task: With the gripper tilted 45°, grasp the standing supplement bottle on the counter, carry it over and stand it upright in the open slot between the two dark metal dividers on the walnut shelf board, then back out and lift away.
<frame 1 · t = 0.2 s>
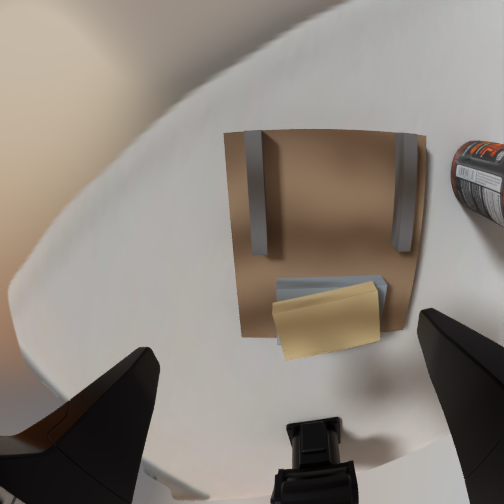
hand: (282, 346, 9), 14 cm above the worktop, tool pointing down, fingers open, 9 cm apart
supplement bottle: (472, 173, 19), on the worktop
shelf board: (327, 235, 22), on the worktop
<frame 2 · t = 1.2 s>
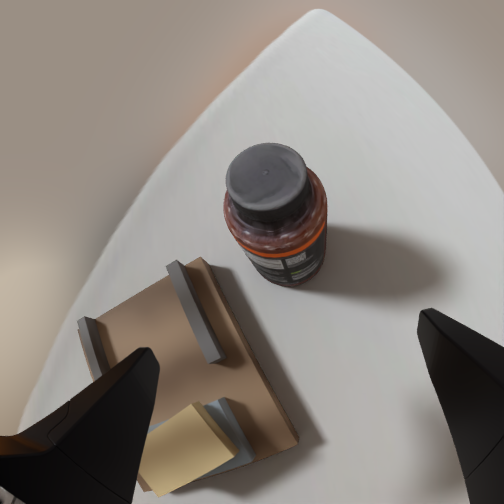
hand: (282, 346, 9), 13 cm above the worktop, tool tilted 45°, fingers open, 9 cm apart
supplement bottle: (289, 253, 24), on the worktop
shelf board: (176, 385, 22), on the worktop
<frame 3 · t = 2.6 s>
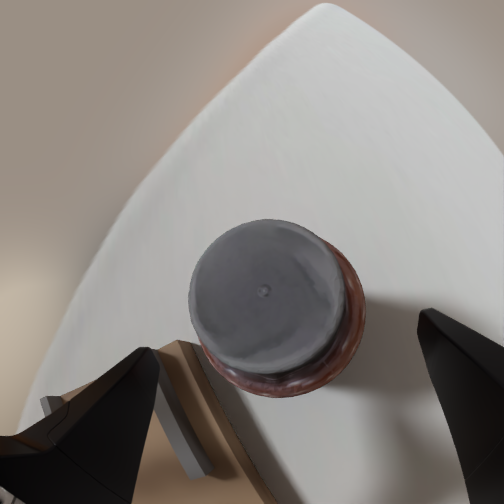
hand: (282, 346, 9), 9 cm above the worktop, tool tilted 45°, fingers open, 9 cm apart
supplement bottle: (295, 333, 18), on the worktop
shelf board: (158, 477, 15), on the worktop
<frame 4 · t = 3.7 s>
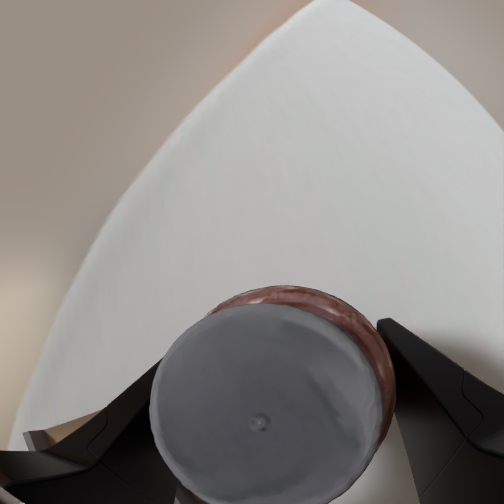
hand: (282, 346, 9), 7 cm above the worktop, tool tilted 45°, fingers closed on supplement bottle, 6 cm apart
supplement bottle: (299, 376, 15), on the worktop, touching gripper
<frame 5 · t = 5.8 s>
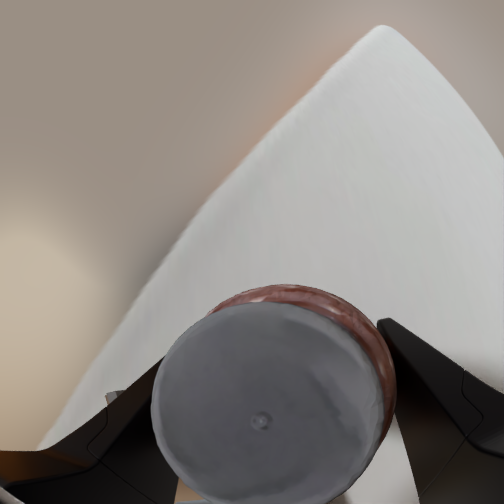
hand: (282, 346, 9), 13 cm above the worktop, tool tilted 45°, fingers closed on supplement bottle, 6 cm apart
supplement bottle: (299, 375, 15), point 6 cm above the worktop, touching gripper
shelf board: (216, 463, 19), on the worktop
when the fingers open (9 cm above the worktop, at t = 8.0 s): supplement bottle stays where it is, resting on shelf board.
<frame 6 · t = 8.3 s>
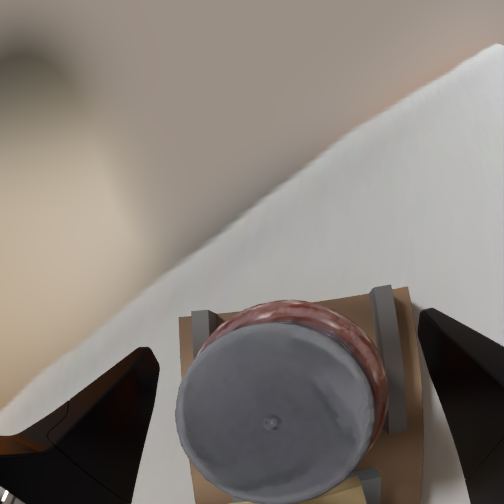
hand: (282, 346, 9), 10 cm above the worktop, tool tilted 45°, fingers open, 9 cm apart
supplement bottle: (300, 378, 15), point 2 cm above the worktop, touching shelf board
shelf board: (305, 432, 16), on the worktop
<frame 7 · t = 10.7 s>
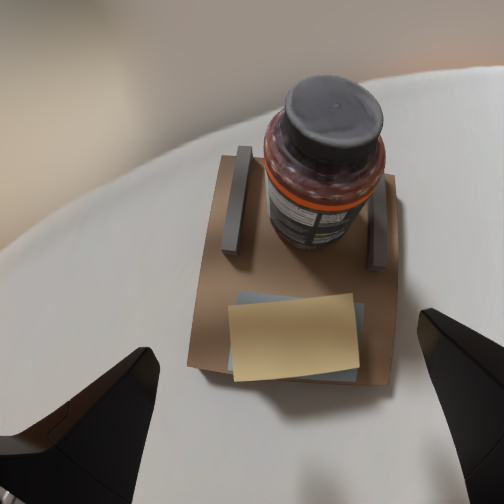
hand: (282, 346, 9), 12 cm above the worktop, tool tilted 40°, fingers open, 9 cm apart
supplement bottle: (308, 213, 21), point 2 cm above the worktop, touching shelf board
shelf board: (301, 269, 22), on the worktop
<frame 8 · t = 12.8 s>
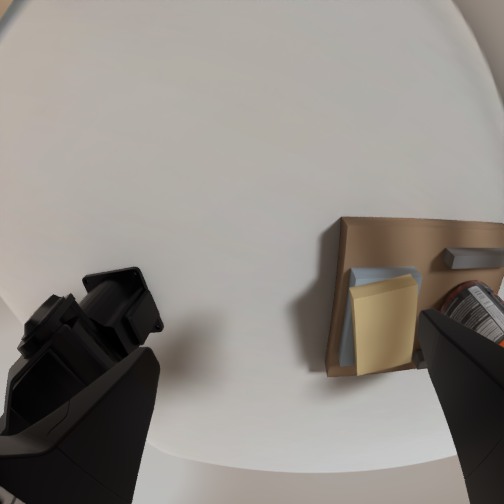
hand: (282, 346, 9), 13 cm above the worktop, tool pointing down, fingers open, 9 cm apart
supplement bottle: (461, 305, 20), point 2 cm above the worktop, touching shelf board
shelf board: (420, 296, 22), on the worktop
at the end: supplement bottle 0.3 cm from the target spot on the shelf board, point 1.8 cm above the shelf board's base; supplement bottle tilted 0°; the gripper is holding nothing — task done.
